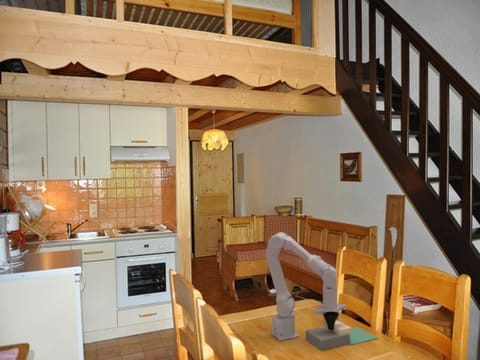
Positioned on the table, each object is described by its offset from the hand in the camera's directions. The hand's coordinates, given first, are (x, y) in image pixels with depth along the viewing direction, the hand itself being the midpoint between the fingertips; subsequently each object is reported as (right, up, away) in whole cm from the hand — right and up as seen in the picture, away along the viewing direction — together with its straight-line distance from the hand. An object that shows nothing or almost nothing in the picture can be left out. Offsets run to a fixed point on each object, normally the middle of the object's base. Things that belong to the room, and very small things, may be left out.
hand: (330, 329), depth 153 cm
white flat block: (+4, -1, +2) cm, 4 cm away
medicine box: (+5, -5, +20) cm, 21 cm away
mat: (+11, -5, +5) cm, 13 cm away
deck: (-1, -5, -1) cm, 5 cm away
